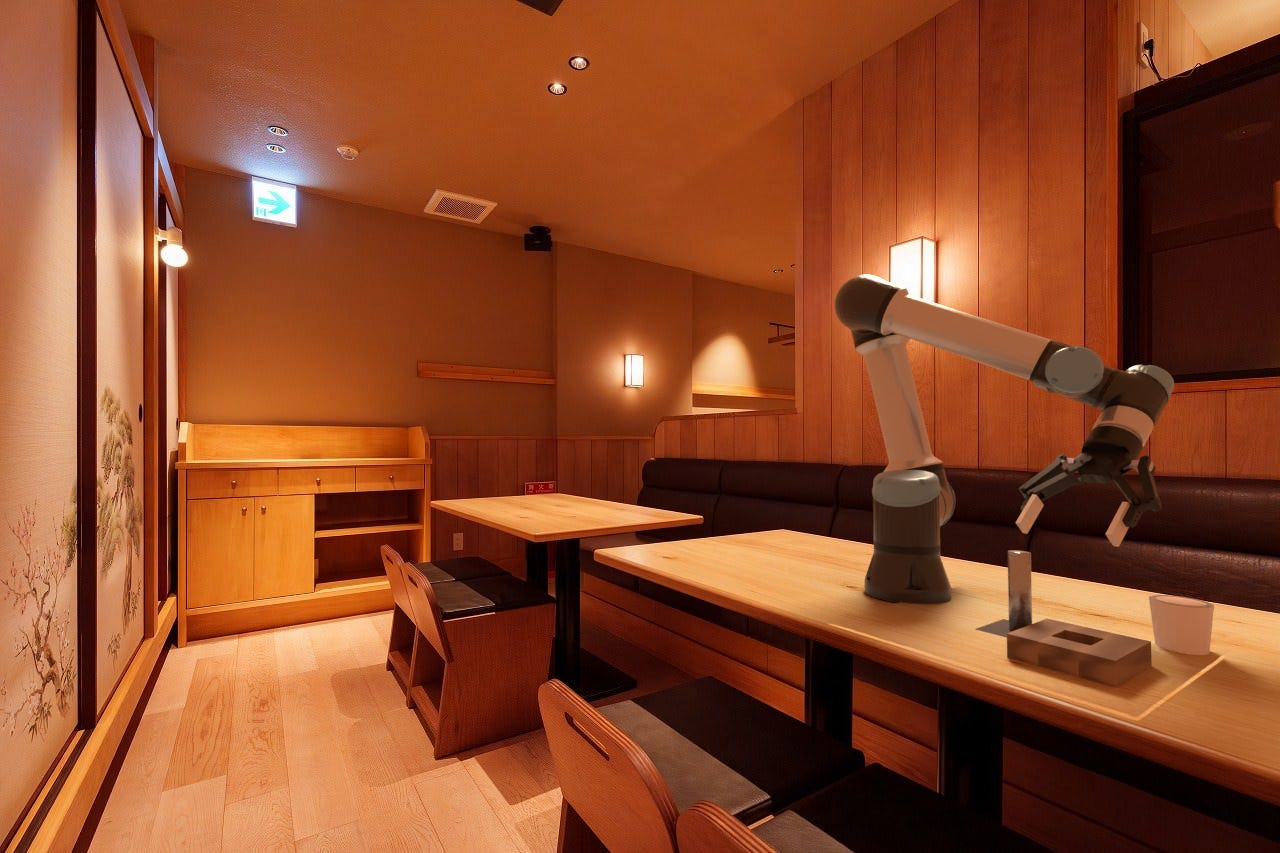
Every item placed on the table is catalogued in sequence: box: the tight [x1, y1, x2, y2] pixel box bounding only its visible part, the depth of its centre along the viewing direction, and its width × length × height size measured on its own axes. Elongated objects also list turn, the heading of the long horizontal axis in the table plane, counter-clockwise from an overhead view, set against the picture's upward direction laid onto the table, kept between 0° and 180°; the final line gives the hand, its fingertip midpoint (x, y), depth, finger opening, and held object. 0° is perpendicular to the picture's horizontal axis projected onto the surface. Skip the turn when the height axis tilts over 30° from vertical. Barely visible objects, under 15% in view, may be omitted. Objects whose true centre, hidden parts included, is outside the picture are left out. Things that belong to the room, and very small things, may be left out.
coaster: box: [975, 618, 1011, 638], centre depth 91 cm, size 9×9×1 cm
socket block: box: [1006, 618, 1153, 688], centre depth 79 cm, size 12×12×4 cm
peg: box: [1007, 550, 1033, 632], centre depth 91 cm, size 3×3×12 cm
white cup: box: [1148, 594, 1215, 656], centre depth 84 cm, size 7×7×7 cm
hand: (1063, 534), depth 95 cm, fingers open, 13 cm apart
